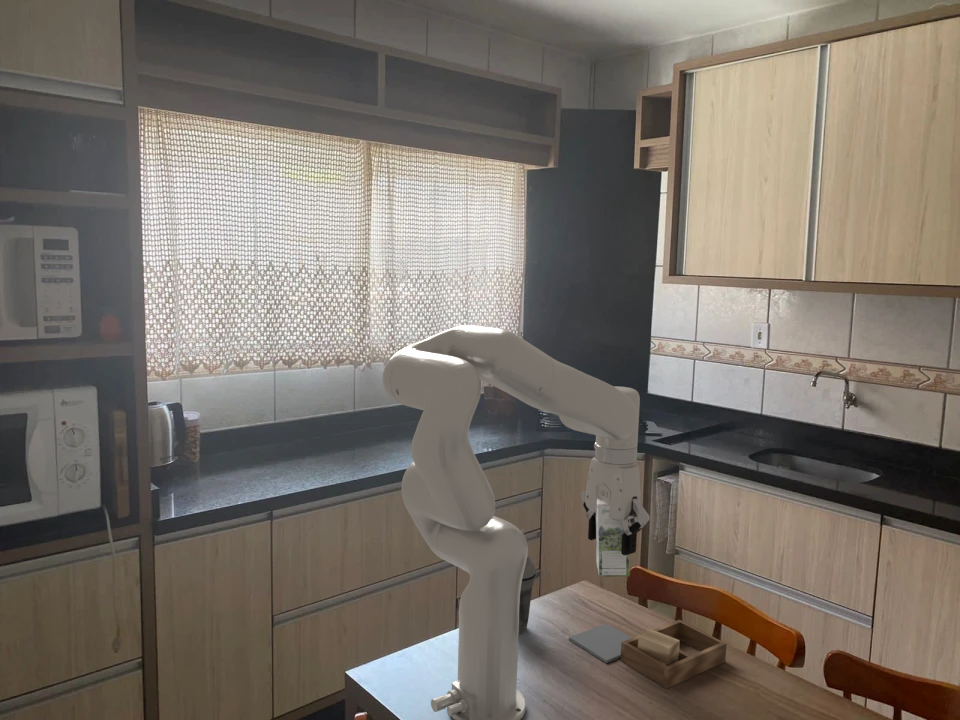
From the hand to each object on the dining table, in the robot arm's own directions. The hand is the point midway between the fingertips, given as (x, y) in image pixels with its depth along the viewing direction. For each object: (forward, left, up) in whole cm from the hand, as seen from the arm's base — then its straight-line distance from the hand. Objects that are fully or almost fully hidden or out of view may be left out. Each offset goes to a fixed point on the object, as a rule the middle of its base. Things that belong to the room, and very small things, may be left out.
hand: (611, 545), depth 138 cm
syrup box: (+1, 0, -5) cm, 5 cm away
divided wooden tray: (+6, -11, -20) cm, 23 cm away
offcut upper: (+1, -11, -17) cm, 20 cm away
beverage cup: (-11, +14, -20) cm, 27 cm away
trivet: (0, 0, -20) cm, 20 cm away
